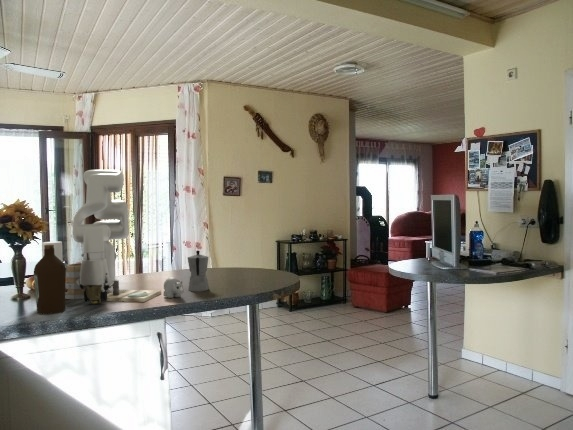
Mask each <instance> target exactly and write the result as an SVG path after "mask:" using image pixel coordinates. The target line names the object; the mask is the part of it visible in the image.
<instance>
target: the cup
mask: <svg viewBox="0 0 573 430" xmlns="http://www.w3.org/2000/svg"><path fill="white" fill-rule="evenodd" d="M103 286H104V287H105V285H103ZM85 288H86V294H87V297H88V299H89V301H90V303H91V305H99V304H101V303H102V302H101V300H100V299H101V292H102V290H101V286H98V285H97V286H92V285H90V287H89V286H86V285H85Z"/></svg>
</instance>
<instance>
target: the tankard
mask: <svg viewBox="0 0 573 430" xmlns="http://www.w3.org/2000/svg"><path fill="white" fill-rule="evenodd" d="M81 263H82V262H80V263H79V262H78V263H77V262H76V263H70V264H67V265H66V284H65V290H66V291H67V292H66V291H65V300H72V299H75V300H83V299H84V292H83V291H82V289H81V288H80V286H79V285H78V284H77V283H76V282H77V280H78V279H79V278H80V270H81ZM84 300H85V299H84Z"/></svg>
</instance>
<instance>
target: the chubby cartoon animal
mask: <svg viewBox="0 0 573 430" xmlns="http://www.w3.org/2000/svg"><path fill="white" fill-rule="evenodd" d="M163 289H164V290H163V297H165V298H166V297H167V299H173V298H180V297H181V296H182V295H183V294H185V290H184V285H183V280H180V279H178V278H177V277H173V276H170V277H168V278H166V279H165V281H164V283H163Z"/></svg>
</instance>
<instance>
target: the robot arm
mask: <svg viewBox="0 0 573 430" xmlns="http://www.w3.org/2000/svg"><path fill="white" fill-rule="evenodd" d="M124 179H125V176H124V174H123V172H122V171H121V170H119V169H88V170H86V171H84V173H83V180H84V183H85V185H86V195H85V196H86V197H85V204H83V205H82V206H81V207H80V208H79V209H78V210H77V212H76V213H75V214H74V216H73V221H72V238H73V240H74V242H76V243H80V244H83V253H81V257H82V258H83V259H81V260H82V261H81V262H80V263H81V270H80V278H79V279H78V280H77V282H76V283H77V284H78V285H79V286H80V288H81V289H82V291H83V292H84V302H86V303H87V302H89V301H90V300H89V299H88V297H87V294H86V288H85V285H86V286H89V287H90V285H92V286H97V285H98V286H101V290H102V292H101V303H104V302H107V301H106V300H107V294H108V291H109V289H111V287H112V286H113V283H114V281H115V280H118V281H120V280H119V279H116V252H115V250H116V249H115V246H114V245H113V243H112V242H110V240H111V241H112V240H124V239H127V238H128V237H129V234H130V224H129V223H130V222H129V209H128V205H127V202H126V201H125V200H122V199H112V193H120V192H121V191H122V190H123V187H124V183H125V182H124V181H125V180H124ZM92 215H94V217H95V218H96V219H97V220H98V221H95V222H93V223H88V224H87V223H84V224H82V222H83V221H84V220H85V219H86V218H89V217H90V216H92ZM103 285H105V287H104V286H103Z"/></svg>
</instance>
